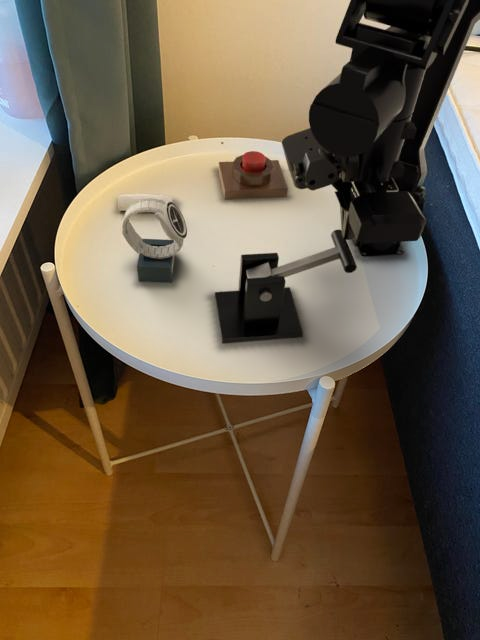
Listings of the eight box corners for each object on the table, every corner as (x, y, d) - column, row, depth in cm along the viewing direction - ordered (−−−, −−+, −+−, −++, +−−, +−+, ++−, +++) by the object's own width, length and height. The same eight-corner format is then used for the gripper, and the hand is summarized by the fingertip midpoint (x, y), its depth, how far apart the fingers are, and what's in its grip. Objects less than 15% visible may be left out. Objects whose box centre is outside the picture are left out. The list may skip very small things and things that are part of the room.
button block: (277, 168, 93) (279, 150, 90) (286, 197, 87) (289, 178, 85) (218, 170, 91) (219, 152, 89) (224, 199, 86) (225, 180, 83)
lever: (344, 238, 66) (340, 224, 64) (358, 273, 62) (355, 259, 60) (249, 271, 68) (243, 258, 66) (257, 307, 64) (251, 294, 62)
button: (262, 160, 88) (263, 150, 87) (266, 173, 86) (267, 163, 85) (240, 161, 88) (241, 151, 87) (243, 174, 86) (244, 164, 84)
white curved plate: (122, 198, 85) (120, 182, 83) (174, 200, 85) (173, 184, 83) (119, 213, 82) (116, 197, 80) (172, 215, 83) (171, 199, 80)
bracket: (288, 293, 73) (297, 242, 67) (301, 339, 68) (312, 289, 61) (214, 298, 72) (215, 247, 65) (221, 345, 67) (224, 295, 60)
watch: (186, 285, 73) (184, 219, 65) (125, 283, 73) (116, 216, 65) (189, 257, 77) (187, 191, 69) (131, 254, 77) (123, 188, 68)
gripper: (275, 61, 55) (262, 191, 67) (320, 167, 43) (294, 303, 55) (381, 60, 57) (350, 187, 68) (453, 162, 44) (400, 295, 56)
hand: (347, 237), depth 62 cm, fingers closed
